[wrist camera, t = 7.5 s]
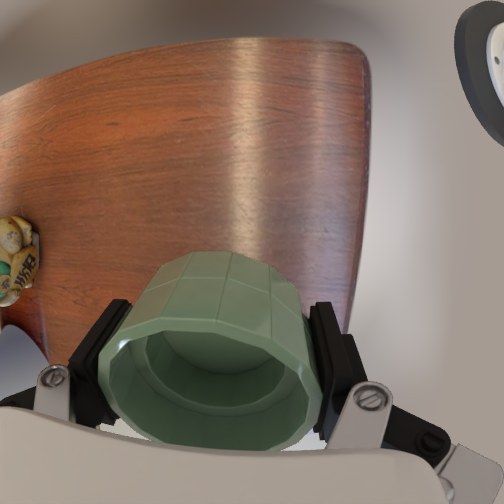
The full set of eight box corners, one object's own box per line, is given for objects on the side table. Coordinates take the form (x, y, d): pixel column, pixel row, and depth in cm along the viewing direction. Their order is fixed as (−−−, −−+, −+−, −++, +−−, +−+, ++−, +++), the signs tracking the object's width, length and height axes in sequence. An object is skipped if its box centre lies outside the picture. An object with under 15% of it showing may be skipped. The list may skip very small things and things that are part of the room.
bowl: (311, 244, 11) (337, 318, 7) (300, 379, 13) (308, 460, 9) (128, 246, 11) (67, 310, 7) (160, 375, 14) (133, 448, 10)
